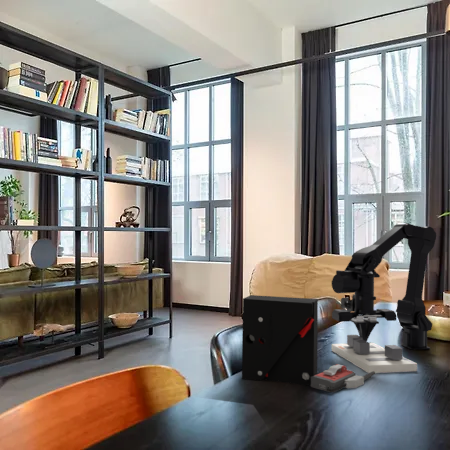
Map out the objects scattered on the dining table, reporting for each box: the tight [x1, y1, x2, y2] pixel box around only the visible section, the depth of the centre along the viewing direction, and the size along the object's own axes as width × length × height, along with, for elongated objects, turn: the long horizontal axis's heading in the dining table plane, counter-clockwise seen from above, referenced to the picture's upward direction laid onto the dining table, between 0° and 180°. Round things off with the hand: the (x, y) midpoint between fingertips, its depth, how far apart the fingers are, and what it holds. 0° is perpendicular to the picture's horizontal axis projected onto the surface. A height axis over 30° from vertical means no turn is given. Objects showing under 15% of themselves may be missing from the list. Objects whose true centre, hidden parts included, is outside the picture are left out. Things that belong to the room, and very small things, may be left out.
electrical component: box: [241, 294, 319, 387], centre depth 116 cm, size 18×10×20 cm, turn 71°
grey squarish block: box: [384, 344, 403, 360], centre depth 127 cm, size 3×4×3 cm
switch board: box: [331, 342, 418, 374], centre depth 133 cm, size 14×24×2 cm, turn 10°
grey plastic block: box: [346, 334, 362, 347], centre depth 140 cm, size 3×4×3 cm
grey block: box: [353, 340, 371, 354], centre depth 133 cm, size 3×4×3 cm
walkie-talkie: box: [310, 363, 376, 393], centre depth 113 cm, size 9×4×20 cm
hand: (363, 343), depth 140 cm, fingers closed
